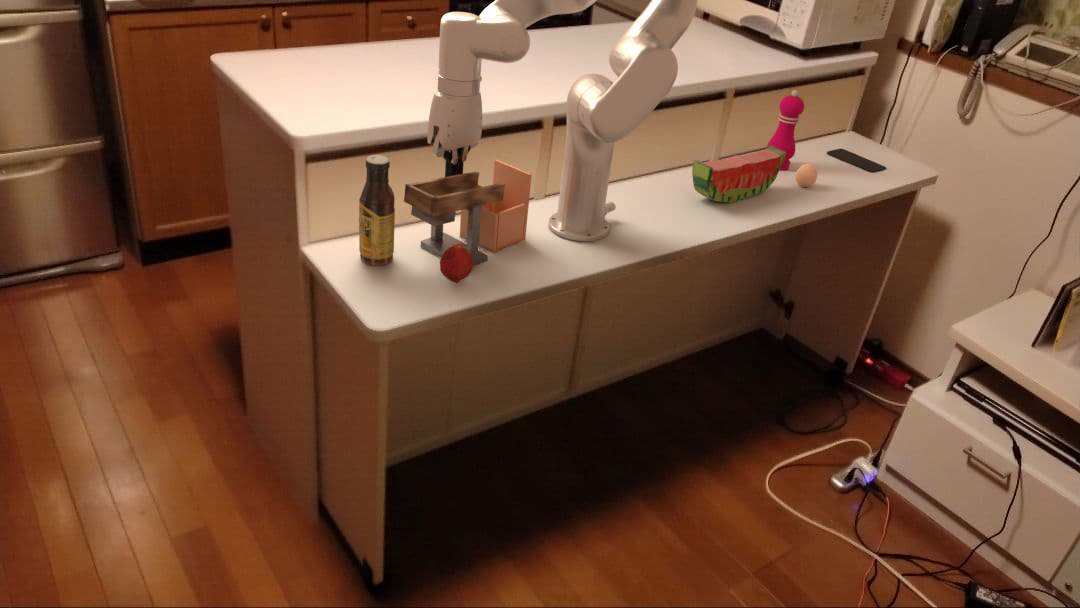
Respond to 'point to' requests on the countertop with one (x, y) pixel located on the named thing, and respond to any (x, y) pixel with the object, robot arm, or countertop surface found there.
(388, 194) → the sauce bottle
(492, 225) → the cup
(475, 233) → the stand
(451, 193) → the brown wooden tray
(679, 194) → the countertop surface
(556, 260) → the countertop surface
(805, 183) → the egg
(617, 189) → the countertop surface
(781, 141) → the pepper mill
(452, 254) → the onion
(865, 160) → the phone
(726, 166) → the fruit slice
